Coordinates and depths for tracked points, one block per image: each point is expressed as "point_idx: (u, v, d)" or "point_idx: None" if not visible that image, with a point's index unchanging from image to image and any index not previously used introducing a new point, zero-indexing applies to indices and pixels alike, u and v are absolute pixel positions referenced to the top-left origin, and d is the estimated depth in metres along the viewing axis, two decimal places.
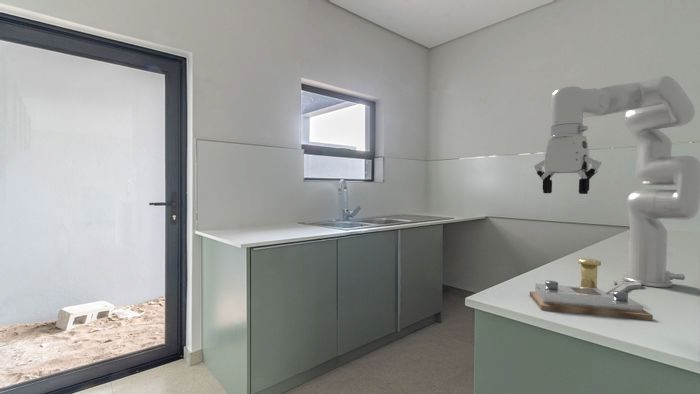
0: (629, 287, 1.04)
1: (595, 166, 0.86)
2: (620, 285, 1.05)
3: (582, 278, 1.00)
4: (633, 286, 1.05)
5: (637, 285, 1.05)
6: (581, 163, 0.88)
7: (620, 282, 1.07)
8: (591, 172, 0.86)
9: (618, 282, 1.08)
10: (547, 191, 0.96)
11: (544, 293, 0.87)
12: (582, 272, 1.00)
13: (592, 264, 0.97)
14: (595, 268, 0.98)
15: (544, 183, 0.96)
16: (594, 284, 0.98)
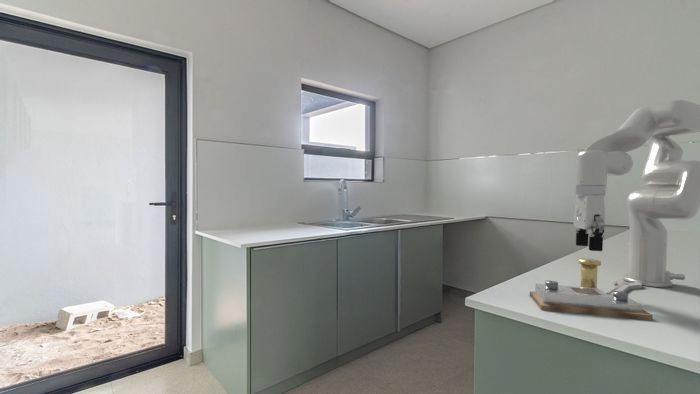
0: (630, 287, 1.04)
1: None
2: (621, 285, 1.04)
3: (582, 278, 1.00)
4: (634, 286, 1.05)
5: (638, 285, 1.05)
6: None
7: (621, 282, 1.07)
8: None
9: (619, 282, 1.07)
10: None
11: (544, 293, 0.87)
12: (582, 272, 1.00)
13: (592, 264, 0.97)
14: (595, 268, 0.98)
15: None
16: (594, 284, 0.98)
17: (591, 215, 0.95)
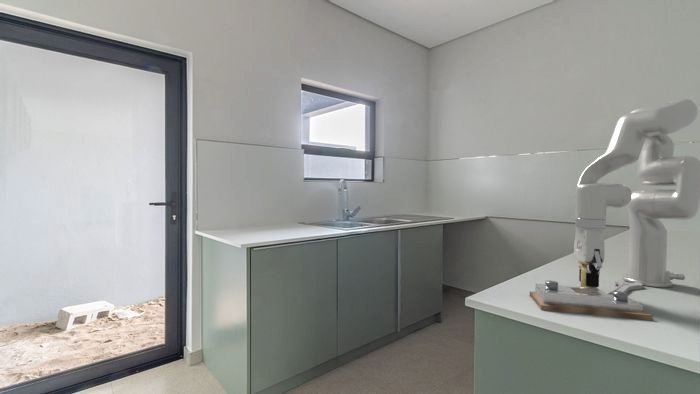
0: (631, 288, 1.04)
1: None
2: (622, 286, 1.04)
3: (582, 278, 1.00)
4: (634, 287, 1.04)
5: (638, 286, 1.05)
6: None
7: (621, 283, 1.07)
8: None
9: (619, 283, 1.07)
10: None
11: (544, 293, 0.87)
12: (582, 272, 1.00)
13: None
14: None
15: None
16: None
17: (591, 249, 0.95)
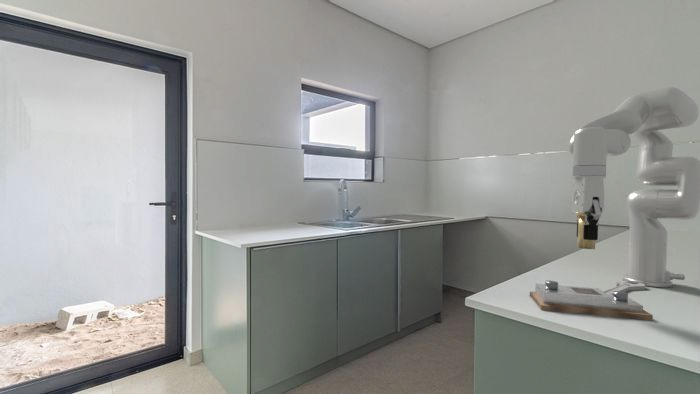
0: (630, 288, 1.03)
1: None
2: (621, 286, 1.04)
3: (579, 232, 0.92)
4: (635, 287, 1.03)
5: (640, 287, 1.04)
6: None
7: (622, 283, 1.06)
8: None
9: (620, 283, 1.06)
10: None
11: (544, 293, 0.87)
12: (579, 225, 0.92)
13: None
14: None
15: None
16: None
17: (589, 198, 0.87)
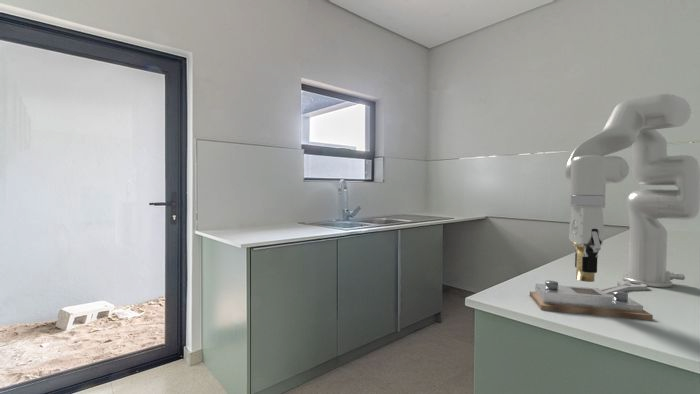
0: (630, 288, 1.03)
1: None
2: (620, 286, 1.04)
3: (578, 263, 0.88)
4: (635, 288, 1.03)
5: (640, 287, 1.03)
6: None
7: (623, 283, 1.06)
8: None
9: (620, 283, 1.06)
10: None
11: (544, 293, 0.87)
12: (578, 256, 0.88)
13: None
14: None
15: None
16: None
17: (588, 230, 0.83)
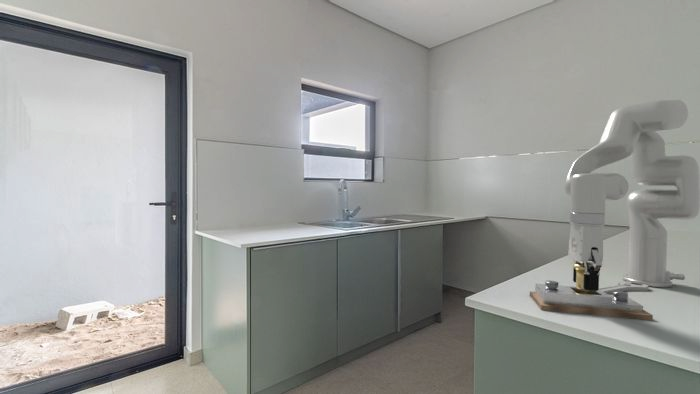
0: (629, 289, 1.03)
1: None
2: (618, 286, 1.04)
3: (577, 285, 0.88)
4: (635, 288, 1.03)
5: (640, 288, 1.03)
6: None
7: (623, 283, 1.06)
8: None
9: (621, 283, 1.06)
10: None
11: (544, 293, 0.87)
12: (577, 278, 0.88)
13: None
14: None
15: None
16: (591, 293, 0.86)
17: (588, 248, 0.83)
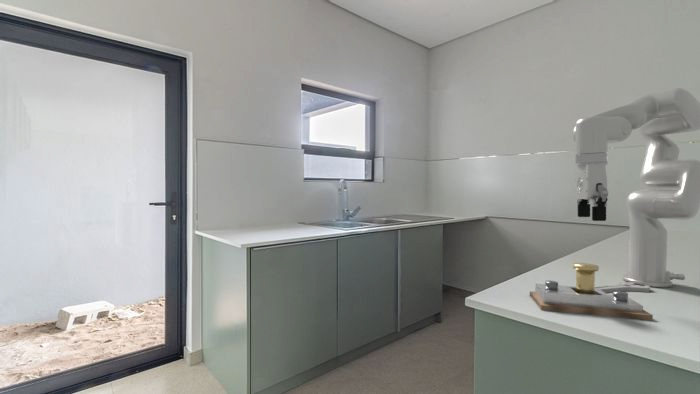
0: (628, 289, 1.03)
1: None
2: (617, 286, 1.04)
3: (577, 285, 0.88)
4: (634, 289, 1.02)
5: (640, 288, 1.02)
6: None
7: (623, 284, 1.05)
8: None
9: (621, 284, 1.06)
10: None
11: (544, 293, 0.87)
12: (577, 278, 0.88)
13: (589, 269, 0.86)
14: (592, 274, 0.86)
15: None
16: (591, 293, 0.86)
17: (593, 184, 0.92)
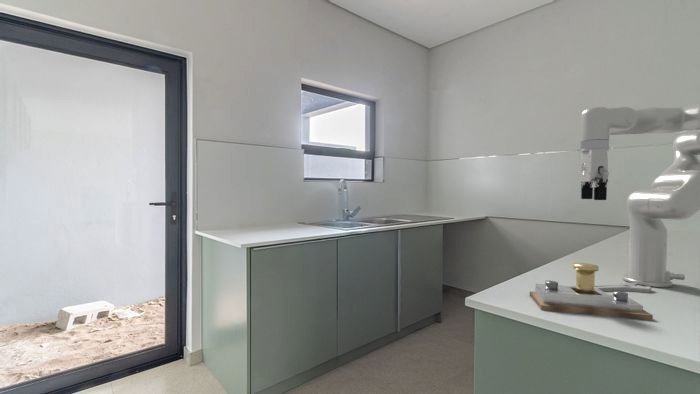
0: (626, 289, 1.02)
1: None
2: (615, 285, 1.04)
3: (577, 285, 0.88)
4: (633, 289, 1.02)
5: (640, 289, 1.01)
6: None
7: (624, 284, 1.05)
8: None
9: (621, 284, 1.06)
10: None
11: (544, 293, 0.87)
12: (577, 278, 0.88)
13: (589, 269, 0.86)
14: (592, 274, 0.86)
15: None
16: (591, 293, 0.86)
17: (595, 167, 1.02)
